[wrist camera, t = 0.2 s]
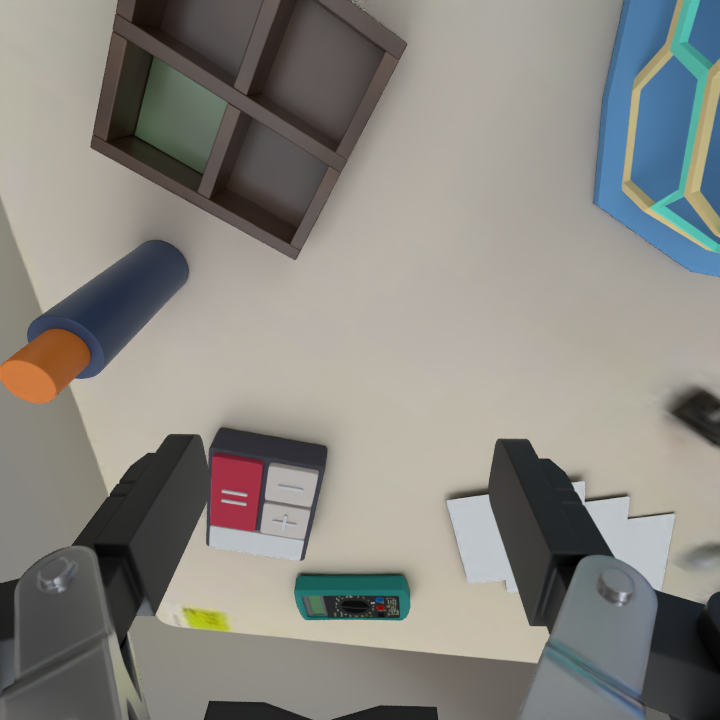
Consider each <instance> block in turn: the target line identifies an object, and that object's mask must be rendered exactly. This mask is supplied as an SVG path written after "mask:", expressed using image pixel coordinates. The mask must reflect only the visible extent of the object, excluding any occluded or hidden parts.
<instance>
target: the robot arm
mask: <svg viewBox="0 0 720 720" xmlns="http://www.w3.org/2000/svg"><path fill="white" fill-rule="evenodd" d="M574 489H575V488H574V487H573V485H572V483H571V482H570V480H569V478H568V476H567V475H566V473H565V472H564V471H563V470H562V469H561V468H559V467H558V466H557V465H556V464H555V463H554V462H552V461H551V460H550V459H539V458H538V456H537V454H536V453H535V451H534V449H533V447H532V445H531V443H530V441H529V440H527V439H498V440H497V441H496V444H495V449H494V455H493V461H492V466H491V472H490V478H489V486H488V491H489V501H490V505H491V509H492V512H493V515H494V518H495V521H496V524H497V527H498V530H499V533H500V536H501V539H502V542H503V545H504V548H505V551H506V555H507V558H508V561H509V564H510V567H511V570H512V573H513V576H514V579H515V582H516V585H517V588H518V591H519V594H520V597H521V600H522V604H523V607H524V610H525V613H526V616H527V619H528V622H529V625H530V626H547V628H548V631H549V634H550V637H549V639H548V641H547V642H546V644H545V647H544V649H543V651H542V654H541V656H540V659H539V661H538V664H537V667H536V669H535V672H534V675H533V677H532V679H531V682H530V684H529V687H528V690H527V692H526V695H525V698H524V700H523V703H522V705H521V707H520V710H519V713H518V715H517V718H516V720H645V718H646V706H647V707H649V708H652V709H655V710H658V711H660V712H663V713H666V714H668V715H669V717H670V719H671V720H720V592H717V593H715V594H713V595H712V596H711V597H710V599H709V600H708V602H707V604H706V605H704V604H700V603H697V602H694V601H690V600H687V599H683V598H680V597H677V596H673V595H670V594H666V593H663V592H660V591H658V590H655V589H653V588H652V586H651V584H650V583H649V582H648V580H647V579H646V578H645V577H644V576H643V575H642V574H641V573H640V572H638V571H637V570H636V569H635V568H633V567H632V566H630V565H629V564H627V563H625V562H623V561H621V560H619V559H616V558H615V557H614V555H613V553H612V552H611V550H610V548H609V546H608V545H607V543H606V541H605V540H604V538H603V536H602V534H601V533H600V531H599V529H598V528H597V526H596V524H595V522H594V521H593V519H592V517H591V516H590V514H589V512H588V511H587V509H586V507H585V505H583V504H582V500H581V499H580V497H579V495H578V493H577V492H575V490H574ZM209 493H210V474H209V470H208V465H207V460H206V456H205V451H204V446H203V442H202V439H201V437H200V435H198V434H170V435H168V436H167V437H166V438H165V440H164V441H163V443H162V444H161V446H160V447H159V449H158V450H157V451H156V453H147V454H146V455H145V456H143V457H142V458H141V459H139V460H138V461H137V462H135V463H134V464H133V465H131V466H130V468H129V469H128V470H127V472H126V473H125V474H124V476H123V477H122V478H121V480H120V483H119V484H117V485H116V486H115V488H114V489H113V490H112V492H111V493H110V497H107V498H106V500H105V501H104V503H103V504H102V505H101V507H100V508H99V509H98V511H97V512H96V513H95V515H94V516H93V517H92V519H91V520H90V521H89V523H88V524H87V525H86V527H85V528H84V529H83V531H82V532H81V533H80V535H79V536H78V537H77V539H76V540H75V541H74V543H73V544H72V545H71V546H70V547H66V548H62V549H59V550H56V551H54V552H52V553H50V554H48V555H46V556H45V557H43V558H41V559H40V560H38V561H37V562H35V563H34V564H33V565H32V566H31V567H30V568H29V569H28V570H27V571H26V572H25V573H24V574H23V575H22V577H21V578H19V579H16V580H12V581H8V582H4V583H0V720H150V717H149V713H148V709H147V705H146V701H145V697H144V692H143V688H142V684H141V679H140V676H139V671H138V667H137V663H136V658H135V654H134V650H133V645H132V641H131V637H130V634H129V632H128V630H129V628H130V626H131V624H132V622H133V620H134V618H135V616H155V614H156V612H157V610H158V607H159V605H160V603H161V601H162V599H163V597H164V594H165V592H166V590H167V588H168V586H169V583H170V581H171V579H172V577H173V575H174V573H175V570H176V568H177V566H178V564H179V562H180V559H181V557H182V555H183V553H184V551H185V549H186V546H187V544H188V542H189V540H190V538H191V535H192V533H193V531H194V529H195V527H196V524H197V522H198V520H199V518H200V516H201V514H202V511H203V509H204V507H205V505H206V503H207V500H208V497H209ZM204 720H312V719H309V718H306V717H303V716H300V715H298V714H295V713H292V712H290V711H287V710H284V709H281V708H279V707H276V706H273V705H270V704H268V703H264V702H230V701H229V702H228V701H209V704H208V707H207V711H206V714H205V718H204ZM332 720H438V715H437V707H420V706H382V705H381V706H377V707H374V708H370V709H366V710H363V711H359V712H356V713H353V714H349V715H346V716H342V717H339V718H335V719H332Z"/></svg>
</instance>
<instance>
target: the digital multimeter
mask: <svg viewBox="0 0 720 720" xmlns="http://www.w3.org/2000/svg"><path fill="white" fill-rule="evenodd" d="M294 594H295V600H296V604H297V607H298V609H299V612H300V614H301V615H302V617H303V618H304V619H305V620H403V619H405V618H406V617H407V615H408V613H409V610H410V591H409V586H408V584H407V582H406V580H405V578H404V577H403V576H402V575H313V576H299V577H298V578H297V579H296V585H295V591H294Z"/></svg>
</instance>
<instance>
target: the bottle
mask: <svg viewBox="0 0 720 720" xmlns="http://www.w3.org/2000/svg"><path fill="white" fill-rule="evenodd" d="M187 278H188V265H187V262H186V260H185V258H184V257H183V255H182V254H181V253H180V252H179V251H178V250H177V249H176V248H175V247H174V246H172V245H170V244H168V243H166V242H163V241H158V240H152V241H148V242H145V243H143V244H142V245H140V246H139V247H138V248H136V249H135V250H133V251H132V252H130V253H129V254H128V255H126V256H125V257H123V258H122V259H121V260H119V261H118V262H116V263H115V264H113V265H112V266H111V267H109V268H108V269H106V270H105V271H104V272H102V273H101V274H99V275H98V276H96V277H95V278H94V279H92V280H91V281H89V282H88V283H86V284H85V285H84V286H82V287H81V288H79V289H78V290H77V291H75V292H74V293H72V294H71V295H69V296H68V297H67V298H65V299H64V300H62V301H61V302H60V303H58V304H57V305H55V306H54V307H52V308H51V309H50V310H48V311H47V312H45V313H44V314H43V315H41V316H40V317H38V318H37V319H36V320H34V321H33V322H32V323H31V324H30V327H29V329H28V332H27V337H28V342H29V344H28V345H26V346H25V347H24V348H22V349H21V350H20V351H18V352H17V353H16V354H14V355H13V356H12V357H10V359H8V360H7V361H5V362H4V363H3V364H2V365H1V367H0V379H1V381H2V383H3V384H4V386H5V387H6V388H7V389H8V390H9V391H10V392H12V393H13V394H14V395H16V396H17V397H19V398H21V399H23V400H26V401H29V402H33V403H46V402H49V401H51V400H53V399H54V398H55V397H56V396H57V395H58V394H59V393H60V392H61V391H62V390H63V389H64V388H65V387H66V386H67V385H68V384H69V383H70V382H71V381H72V380H73V379H74V378H77V379H85V378H90V377H93V376H96V375H97V374H99V373H100V372H101V371H102V370H103V369H104V368H105V367H106V366H107V365H108V364H109V362H110V361H111V360H112V359H113V358H114V357H115V356H116V355H117V354H118V353H119V352H120V351H121V350H122V349H123V348H124V347H125V346H126V345H127V344H128V342H129V341H130V340H131V339H132V338H133V337H134V336H135V335H136V334H137V333H138V332H139V331H140V330H141V329H142V328H143V327H144V326H145V325H146V324H147V322H148V321H149V320H150V319H151V318H152V317H153V316H154V315H155V314H156V313H157V312H158V311H159V310H160V309H161V308H162V307H163V306H164V305H165V304H166V302H167V301H168V300H169V299H170V298H171V297H172V296H173V295H174V294H175V293H176V292H177V291H178V290H179V289H180V288H181V287H182V286H183V285H184V284H185V282H186V280H187Z"/></svg>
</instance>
